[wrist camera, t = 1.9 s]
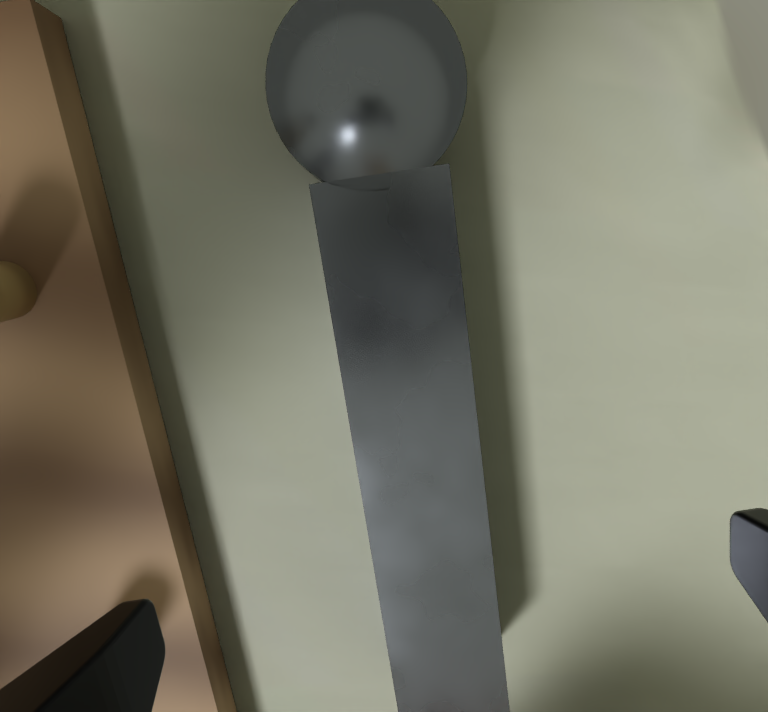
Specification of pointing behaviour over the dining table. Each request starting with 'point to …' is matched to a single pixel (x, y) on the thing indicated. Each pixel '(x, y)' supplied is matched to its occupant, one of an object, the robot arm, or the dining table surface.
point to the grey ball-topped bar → (399, 324)
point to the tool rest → (80, 398)
